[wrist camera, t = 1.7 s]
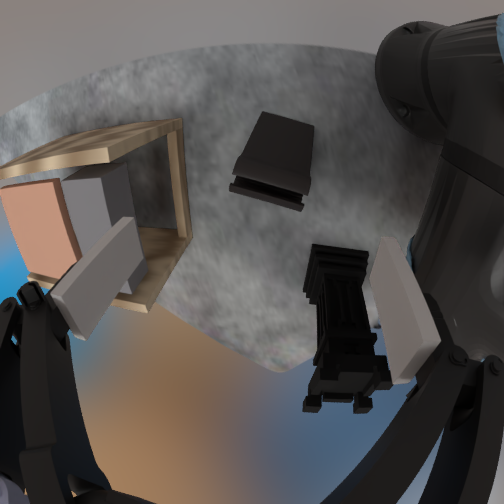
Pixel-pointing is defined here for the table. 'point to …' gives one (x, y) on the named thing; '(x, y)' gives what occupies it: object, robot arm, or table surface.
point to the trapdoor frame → (106, 150)
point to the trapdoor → (81, 213)
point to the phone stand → (276, 162)
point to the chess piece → (342, 332)
